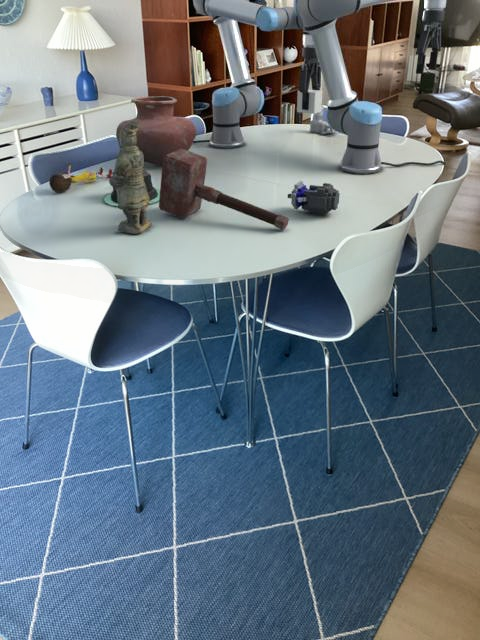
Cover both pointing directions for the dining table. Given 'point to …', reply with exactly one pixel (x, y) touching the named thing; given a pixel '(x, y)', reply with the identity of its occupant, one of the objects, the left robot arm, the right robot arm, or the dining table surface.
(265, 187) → the dining table surface
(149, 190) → the chocolate cake
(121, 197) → the statue
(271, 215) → the sledgehammer
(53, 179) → the figurine
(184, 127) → the clay pot
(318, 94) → the brick
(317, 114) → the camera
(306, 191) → the toy
